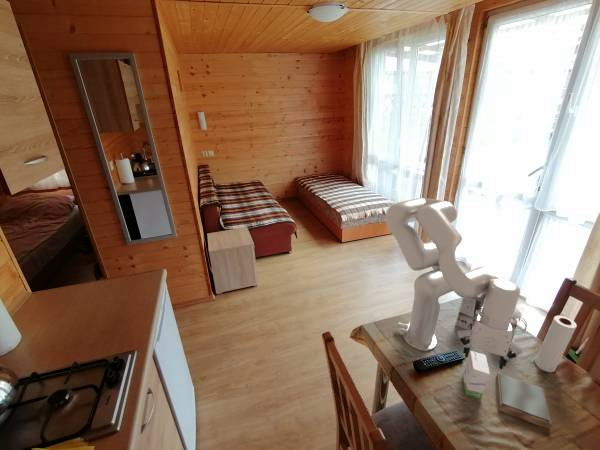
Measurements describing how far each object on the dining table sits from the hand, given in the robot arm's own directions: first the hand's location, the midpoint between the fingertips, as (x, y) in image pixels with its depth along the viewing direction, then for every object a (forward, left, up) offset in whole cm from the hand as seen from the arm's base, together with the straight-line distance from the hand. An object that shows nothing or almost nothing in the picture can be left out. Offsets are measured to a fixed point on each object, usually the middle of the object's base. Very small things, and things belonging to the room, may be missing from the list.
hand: (482, 360), depth 96 cm
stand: (+13, +1, -13) cm, 19 cm away
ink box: (-1, 0, -13) cm, 13 cm away
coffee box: (-3, +33, -13) cm, 36 cm away
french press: (+10, +30, -13) cm, 35 cm away
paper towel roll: (+23, +22, -13) cm, 35 cm away
